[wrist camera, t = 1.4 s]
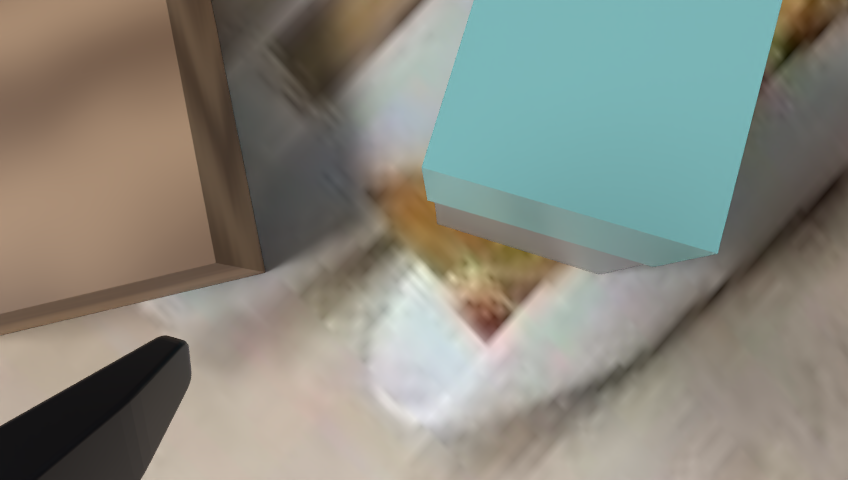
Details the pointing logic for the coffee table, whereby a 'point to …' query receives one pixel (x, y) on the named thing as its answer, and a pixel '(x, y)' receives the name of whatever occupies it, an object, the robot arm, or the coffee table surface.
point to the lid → (603, 120)
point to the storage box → (531, 241)
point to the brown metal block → (116, 158)
